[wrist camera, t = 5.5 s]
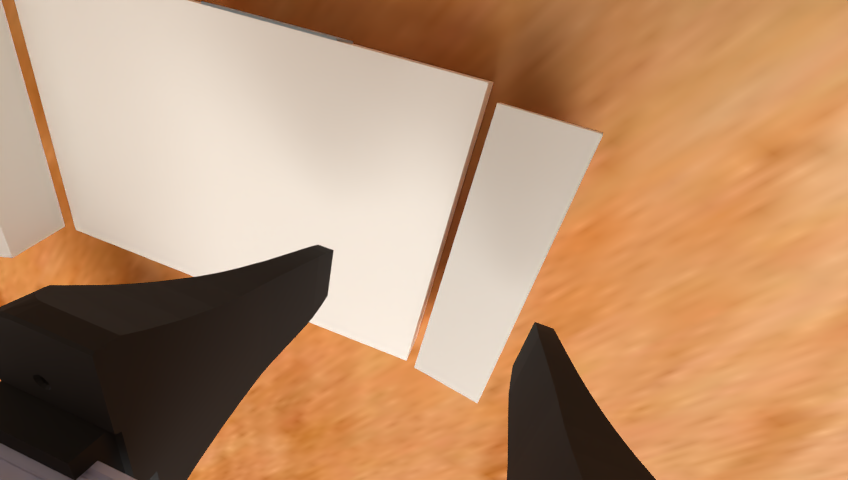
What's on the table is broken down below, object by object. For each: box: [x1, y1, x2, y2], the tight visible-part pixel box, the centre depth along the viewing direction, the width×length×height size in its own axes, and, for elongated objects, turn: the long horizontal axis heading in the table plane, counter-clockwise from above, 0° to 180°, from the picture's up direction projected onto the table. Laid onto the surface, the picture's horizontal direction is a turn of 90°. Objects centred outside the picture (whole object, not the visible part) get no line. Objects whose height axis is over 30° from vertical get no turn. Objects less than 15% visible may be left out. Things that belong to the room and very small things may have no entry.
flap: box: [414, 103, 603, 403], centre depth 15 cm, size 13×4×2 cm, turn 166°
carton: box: [14, 0, 494, 361], centre depth 18 cm, size 14×22×2 cm, turn 76°
